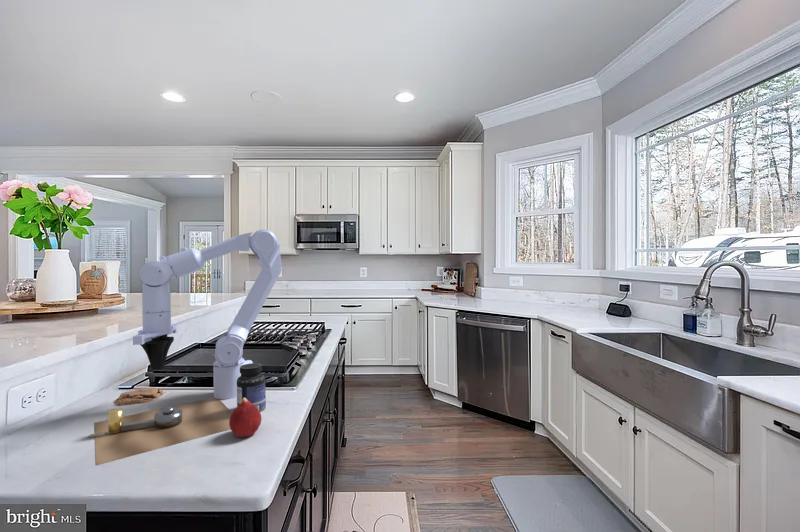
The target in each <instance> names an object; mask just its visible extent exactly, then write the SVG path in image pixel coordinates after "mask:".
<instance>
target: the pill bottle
mask: <svg viewBox="0 0 800 532" xmlns="http://www.w3.org/2000/svg"><path fill="white" fill-rule="evenodd" d="M262 367H263V366H262V364H261V363H257V362H253V363H250V364H245V365H242V366H240V373H241V376H240V377H239V378H238V379H237V397H236V407H237V406H238V405H240V404H241V403H242V400H243V398H246V399H247V400H248V401H249V402H250V403H253V404H254V405H255V406H256V407H257V408H258V409H259V411H260V413H261V412H263V411H265V410H266V407H267V404H266V403H267V401H266V376H265V375H264V374H263V373H262V370H263V368H262Z"/></svg>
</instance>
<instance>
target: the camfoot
mask: <svg viewBox="0 0 800 532" xmlns="http://www.w3.org/2000/svg"><path fill="white" fill-rule="evenodd" d="M162 408H163V411H160V412H158V413H156V414H155V415H154V419H150V420H143V421H137V422H130V423H123V417H124V409H123V408H114V409H111V410H109V411H107V420H108V433H110V434H113V433H118V432H121V431H126V430H133V429H139V428H145V427H152V426H155V427H157V428H166V427H171V426H174V425H177V424H179V423H181V422H182V410H181V409H174V407H171V406H165V407H162Z"/></svg>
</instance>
